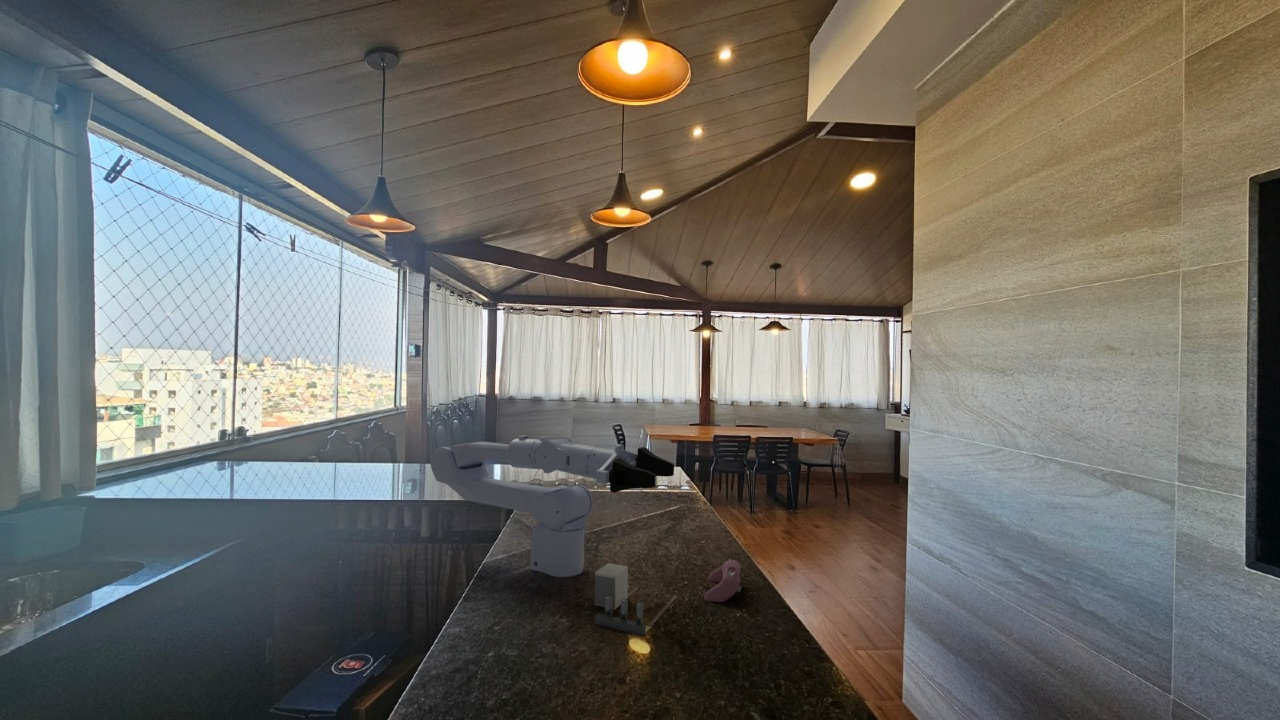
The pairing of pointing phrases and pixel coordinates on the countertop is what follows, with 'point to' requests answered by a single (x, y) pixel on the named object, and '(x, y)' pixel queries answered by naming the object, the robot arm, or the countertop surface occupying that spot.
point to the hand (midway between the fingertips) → (664, 475)
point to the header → (622, 618)
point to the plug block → (611, 584)
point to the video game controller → (724, 582)
